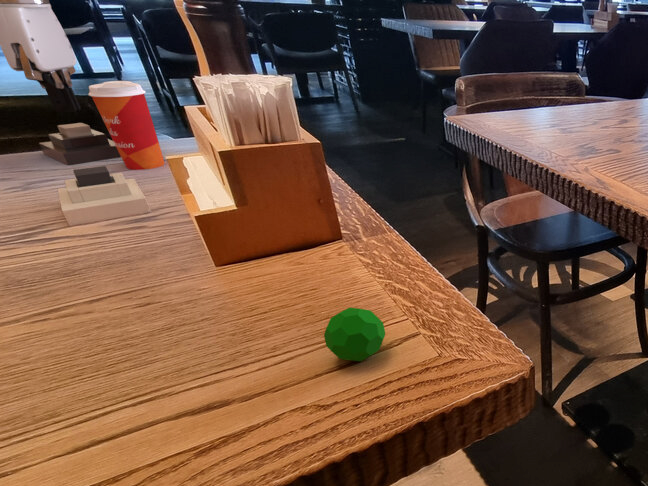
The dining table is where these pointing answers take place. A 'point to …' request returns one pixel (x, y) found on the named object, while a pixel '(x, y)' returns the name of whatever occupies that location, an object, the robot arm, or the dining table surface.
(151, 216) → the dining table surface
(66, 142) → the block
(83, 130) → the back key
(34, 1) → the robot arm
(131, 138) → the paper cup
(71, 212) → the front block
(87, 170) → the front key
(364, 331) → the polyhedron
